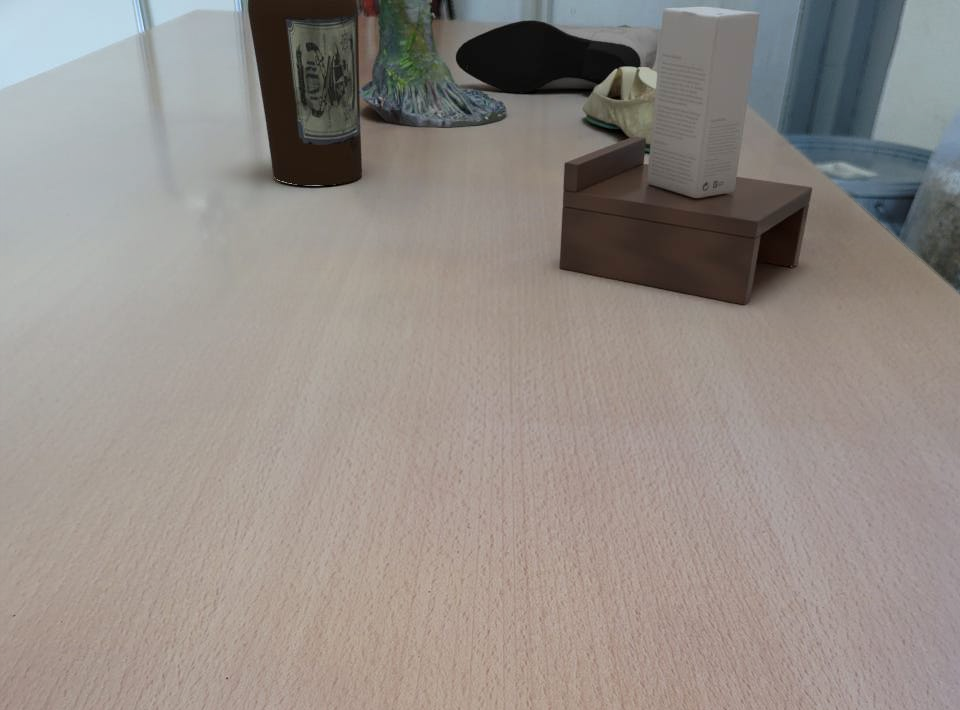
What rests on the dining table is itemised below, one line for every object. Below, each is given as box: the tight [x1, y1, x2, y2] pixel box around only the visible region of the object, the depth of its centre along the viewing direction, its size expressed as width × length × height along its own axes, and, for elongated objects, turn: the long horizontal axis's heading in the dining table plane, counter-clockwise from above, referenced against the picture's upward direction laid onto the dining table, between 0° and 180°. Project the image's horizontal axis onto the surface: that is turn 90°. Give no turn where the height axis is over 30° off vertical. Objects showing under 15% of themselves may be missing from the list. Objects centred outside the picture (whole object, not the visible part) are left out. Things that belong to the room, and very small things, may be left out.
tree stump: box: [359, 0, 507, 128], centre depth 132 cm, size 18×20×18 cm
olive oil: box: [247, 0, 363, 186], centre depth 99 cm, size 11×11×25 cm
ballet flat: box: [582, 67, 658, 153], centre depth 123 cm, size 8×25×8 cm, turn 15°
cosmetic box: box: [647, 6, 761, 198], centre depth 75 cm, size 6×4×12 cm
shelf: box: [559, 136, 813, 305], centre depth 80 cm, size 16×12×8 cm
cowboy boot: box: [455, 19, 659, 94], centre depth 154 cm, size 10×28×25 cm
